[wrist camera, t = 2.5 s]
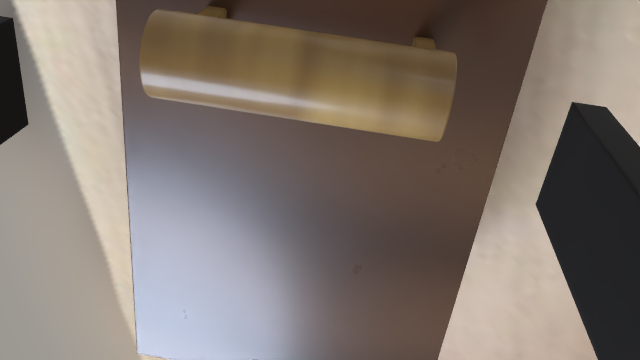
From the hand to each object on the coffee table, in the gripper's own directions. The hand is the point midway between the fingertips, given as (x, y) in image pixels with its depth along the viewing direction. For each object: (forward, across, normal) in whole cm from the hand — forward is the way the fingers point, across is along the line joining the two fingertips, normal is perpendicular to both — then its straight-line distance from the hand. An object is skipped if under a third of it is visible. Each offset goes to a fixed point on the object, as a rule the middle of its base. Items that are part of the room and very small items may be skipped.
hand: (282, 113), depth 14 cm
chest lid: (+8, 0, -7) cm, 10 cm away
